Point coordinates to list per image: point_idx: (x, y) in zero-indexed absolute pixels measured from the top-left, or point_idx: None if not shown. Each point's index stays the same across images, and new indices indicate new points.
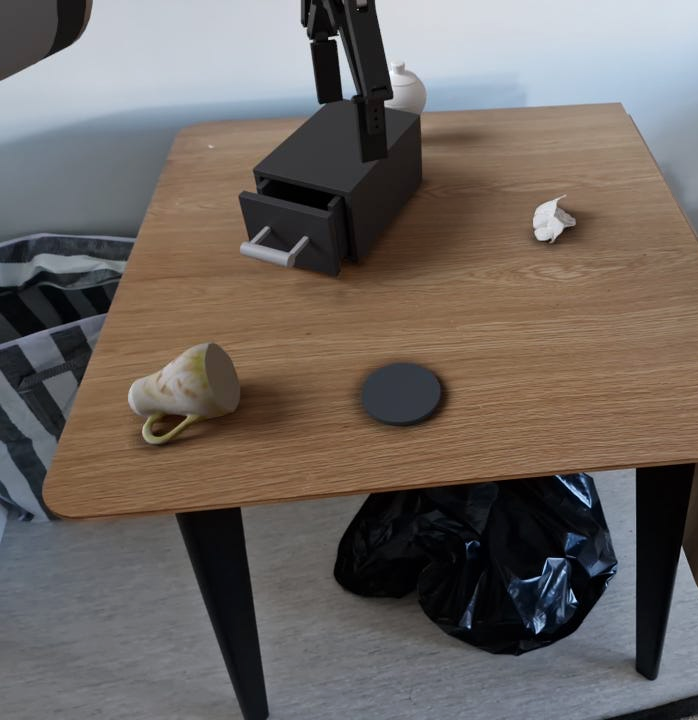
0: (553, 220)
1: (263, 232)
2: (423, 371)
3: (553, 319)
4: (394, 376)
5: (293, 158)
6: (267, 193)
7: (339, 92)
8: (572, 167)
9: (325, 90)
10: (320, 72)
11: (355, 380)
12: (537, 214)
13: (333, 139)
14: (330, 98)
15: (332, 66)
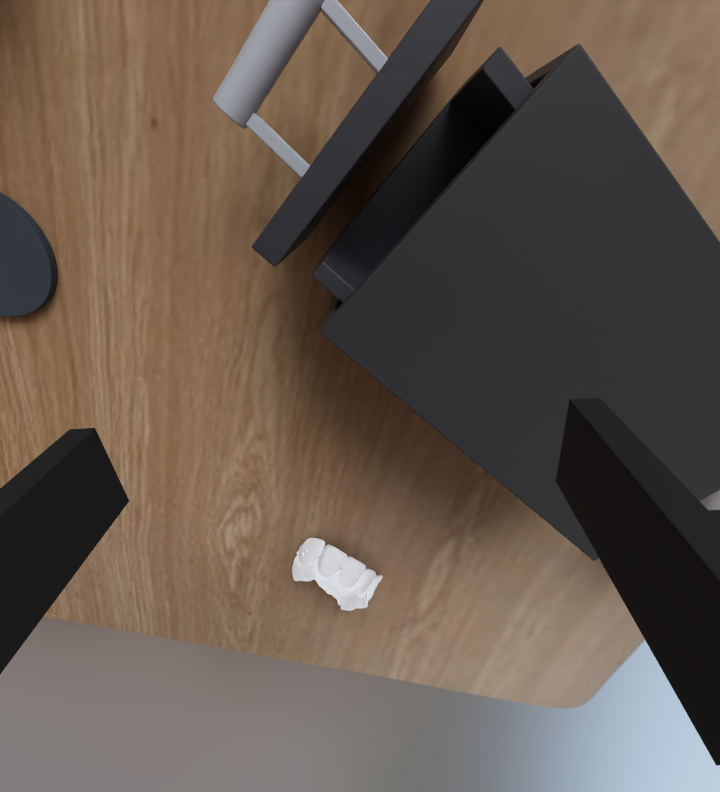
0: (310, 575)
1: (366, 52)
2: (31, 302)
3: (145, 491)
4: (18, 254)
5: (566, 217)
6: (489, 93)
7: (570, 496)
8: (460, 626)
9: (591, 460)
10: (641, 515)
11: (25, 185)
12: (347, 561)
13: (604, 359)
14: (569, 451)
15: (638, 583)
